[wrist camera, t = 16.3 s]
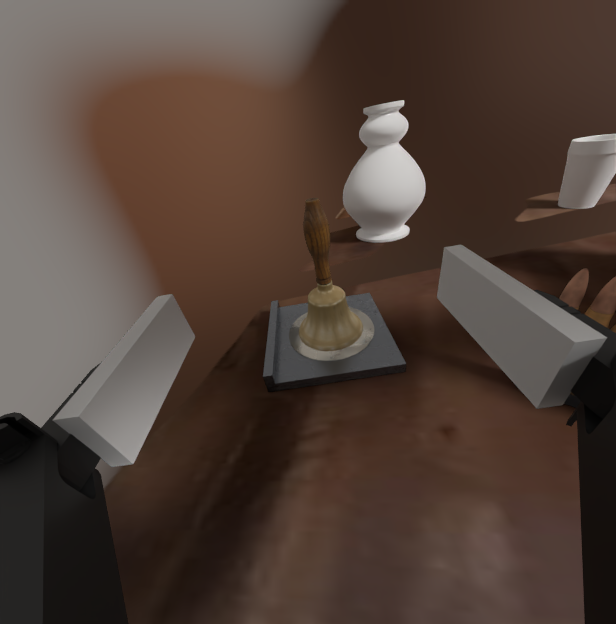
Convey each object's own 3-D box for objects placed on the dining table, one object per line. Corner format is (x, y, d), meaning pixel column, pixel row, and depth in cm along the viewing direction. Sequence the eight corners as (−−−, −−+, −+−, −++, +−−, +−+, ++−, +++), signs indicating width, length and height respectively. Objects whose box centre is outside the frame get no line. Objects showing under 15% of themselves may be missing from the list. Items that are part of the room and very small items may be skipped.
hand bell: (364, 351, 29) (358, 203, 20) (293, 352, 31) (259, 215, 22) (362, 309, 36) (357, 184, 27) (304, 312, 37) (281, 195, 28)
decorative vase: (332, 236, 67) (320, 117, 53) (383, 218, 73) (385, 107, 59) (379, 253, 53) (380, 100, 39) (438, 229, 59) (457, 89, 45)
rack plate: (369, 299, 40) (369, 285, 38) (405, 371, 27) (407, 354, 26) (275, 314, 40) (271, 301, 39) (268, 392, 28) (262, 376, 27)
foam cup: (552, 199, 64) (574, 137, 57) (605, 199, 59) (637, 131, 51) (546, 209, 59) (569, 143, 52) (603, 211, 54) (639, 137, 46)
